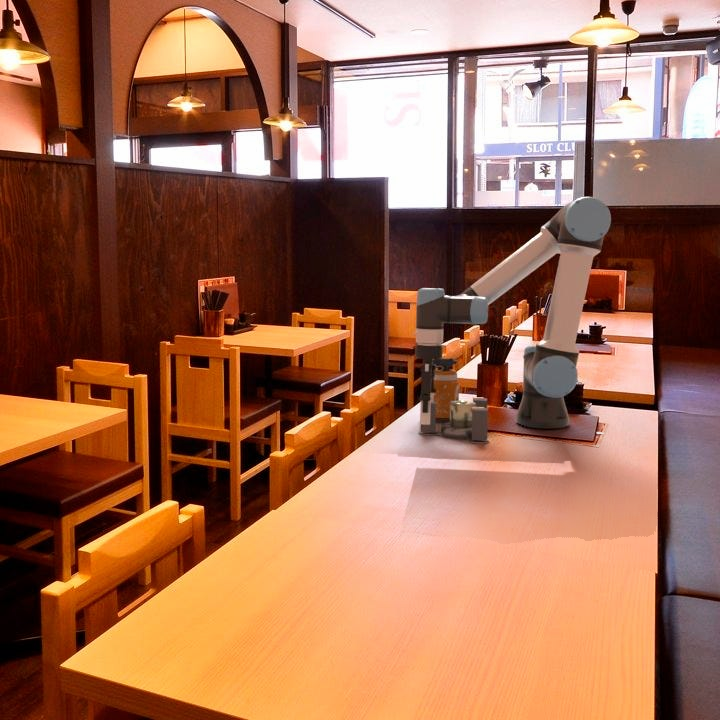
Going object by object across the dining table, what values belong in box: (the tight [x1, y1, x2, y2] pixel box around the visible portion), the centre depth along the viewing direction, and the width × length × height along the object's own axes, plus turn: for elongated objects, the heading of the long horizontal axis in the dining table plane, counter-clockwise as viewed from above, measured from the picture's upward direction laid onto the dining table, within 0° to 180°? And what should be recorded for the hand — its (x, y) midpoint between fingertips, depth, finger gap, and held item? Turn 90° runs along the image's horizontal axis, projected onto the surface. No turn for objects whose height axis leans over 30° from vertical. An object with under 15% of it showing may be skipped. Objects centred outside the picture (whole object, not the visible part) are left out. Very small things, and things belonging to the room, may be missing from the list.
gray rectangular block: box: [472, 407, 489, 441], centre depth 205 cm, size 4×4×8 cm
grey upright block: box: [419, 401, 437, 432], centre depth 216 cm, size 4×4×8 cm
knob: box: [472, 396, 488, 408], centre depth 222 cm, size 4×4×8 cm
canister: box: [432, 357, 460, 425], centre depth 230 cm, size 9×11×20 cm
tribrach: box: [418, 399, 490, 445], centre depth 215 cm, size 19×22×10 cm
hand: (426, 419), depth 216 cm, fingers open, 13 cm apart
